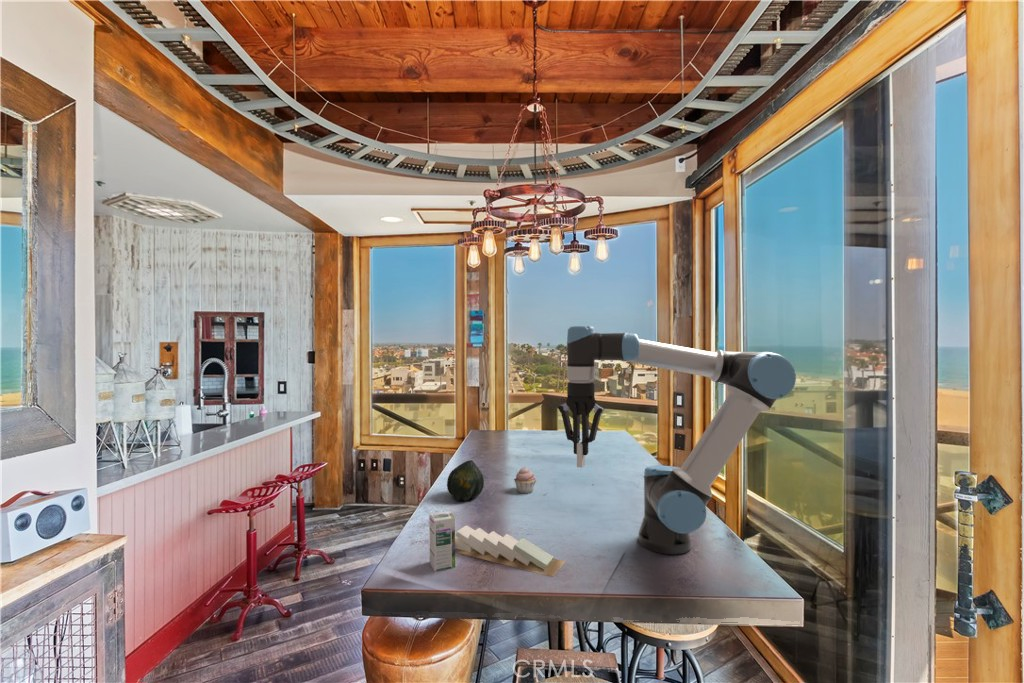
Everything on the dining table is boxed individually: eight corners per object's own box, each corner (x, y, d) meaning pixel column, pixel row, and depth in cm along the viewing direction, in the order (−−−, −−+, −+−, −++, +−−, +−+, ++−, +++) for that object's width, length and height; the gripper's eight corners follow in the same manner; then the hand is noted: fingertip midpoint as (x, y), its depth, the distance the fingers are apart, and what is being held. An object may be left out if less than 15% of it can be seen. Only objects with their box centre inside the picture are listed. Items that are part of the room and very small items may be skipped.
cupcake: (541, 490, 184) (541, 466, 184) (526, 496, 177) (526, 471, 177) (523, 486, 190) (523, 462, 190) (509, 491, 183) (509, 467, 183)
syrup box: (434, 576, 117) (434, 520, 117) (429, 566, 122) (429, 512, 122) (455, 571, 119) (455, 517, 119) (449, 561, 125) (449, 509, 125)
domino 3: (507, 546, 128) (479, 527, 132) (498, 553, 124) (469, 534, 128) (505, 551, 128) (477, 532, 133) (496, 558, 124) (468, 538, 128)
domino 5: (537, 553, 124) (507, 533, 128) (529, 560, 120) (498, 540, 124) (535, 558, 124) (505, 538, 129) (527, 566, 120) (496, 545, 124)
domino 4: (522, 549, 126) (492, 530, 130) (514, 557, 122) (484, 537, 126) (520, 554, 126) (491, 535, 131) (512, 562, 122) (482, 542, 126)
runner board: (565, 565, 122) (565, 561, 122) (553, 581, 114) (553, 576, 114) (471, 543, 136) (471, 539, 136) (454, 556, 128) (454, 551, 128)
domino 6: (553, 556, 122) (522, 537, 126) (546, 565, 117) (514, 544, 122) (551, 561, 122) (520, 542, 126) (544, 570, 118) (512, 549, 122)
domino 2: (493, 543, 130) (466, 524, 134) (484, 550, 126) (457, 531, 130) (492, 547, 130) (464, 529, 135) (483, 555, 126) (455, 536, 130)
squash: (435, 488, 170) (461, 459, 170) (445, 478, 185) (469, 451, 185) (462, 515, 169) (489, 485, 168) (470, 502, 184) (495, 475, 183)
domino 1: (479, 539, 132) (451, 532, 137) (470, 546, 128) (441, 539, 133) (479, 544, 132) (451, 538, 137) (470, 551, 128) (441, 544, 133)
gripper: (607, 381, 125) (607, 465, 125) (563, 379, 131) (563, 460, 131) (599, 383, 119) (600, 472, 119) (553, 381, 125) (554, 466, 125)
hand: (581, 466), depth 125 cm, fingers closed
